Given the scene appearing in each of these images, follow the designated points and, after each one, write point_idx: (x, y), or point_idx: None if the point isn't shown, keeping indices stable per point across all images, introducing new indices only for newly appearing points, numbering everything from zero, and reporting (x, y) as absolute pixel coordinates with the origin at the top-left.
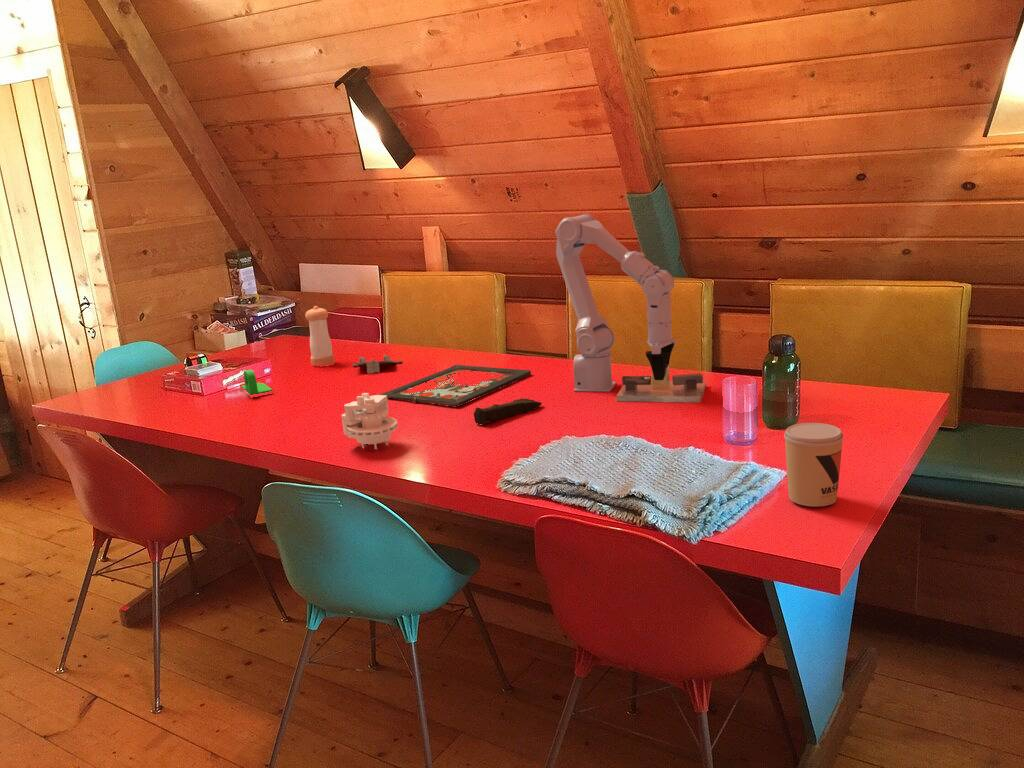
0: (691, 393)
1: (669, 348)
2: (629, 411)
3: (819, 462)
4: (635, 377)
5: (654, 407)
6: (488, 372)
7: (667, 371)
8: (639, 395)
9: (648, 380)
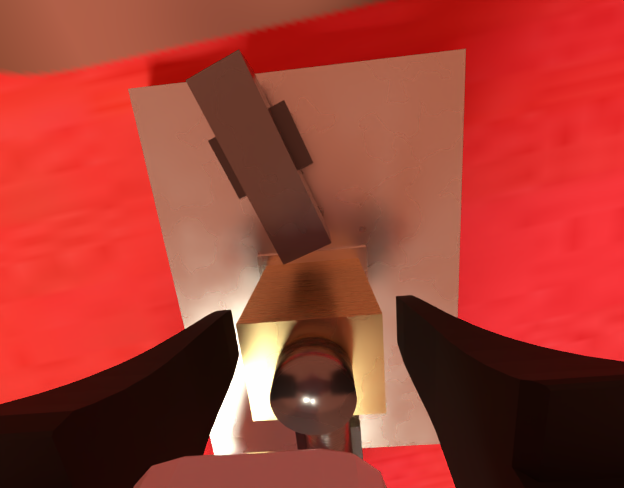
0: (402, 117)
1: (116, 432)
2: (579, 349)
3: None
4: (340, 444)
5: (525, 266)
6: None
7: (336, 301)
8: None
9: None
